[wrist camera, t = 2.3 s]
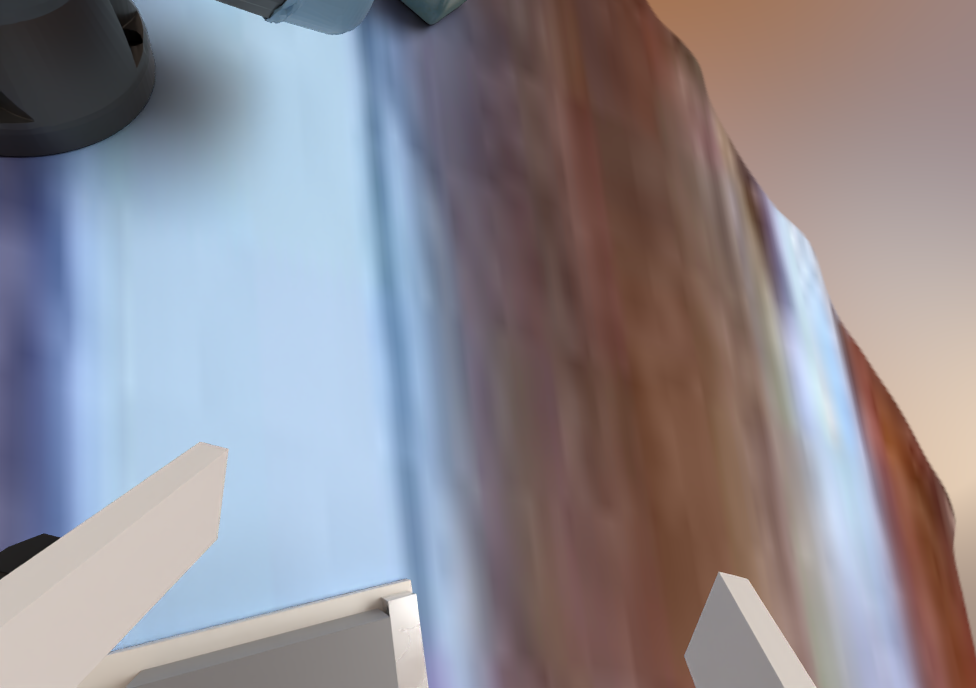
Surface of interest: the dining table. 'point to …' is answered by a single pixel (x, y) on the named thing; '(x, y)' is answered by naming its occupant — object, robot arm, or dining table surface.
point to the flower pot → (433, 8)
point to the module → (292, 659)
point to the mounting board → (233, 634)
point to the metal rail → (406, 639)
